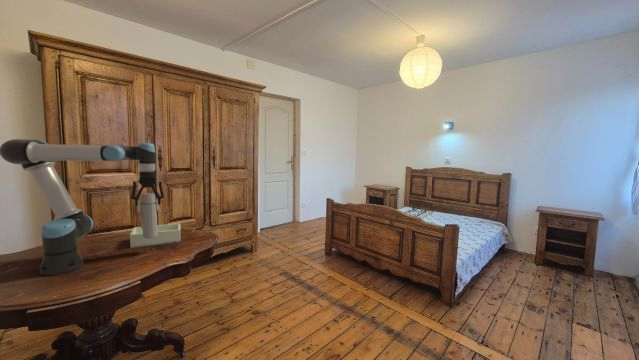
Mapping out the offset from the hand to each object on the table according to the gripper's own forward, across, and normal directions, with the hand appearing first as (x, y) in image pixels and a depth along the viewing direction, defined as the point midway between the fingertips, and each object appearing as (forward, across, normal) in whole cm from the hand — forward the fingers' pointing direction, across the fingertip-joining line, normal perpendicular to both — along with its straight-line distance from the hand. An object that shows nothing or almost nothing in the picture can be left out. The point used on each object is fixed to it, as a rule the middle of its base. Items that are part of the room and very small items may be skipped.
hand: (148, 210), depth 149 cm
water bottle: (+15, 0, 0) cm, 15 cm away
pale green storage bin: (+24, +3, +19) cm, 31 cm away
